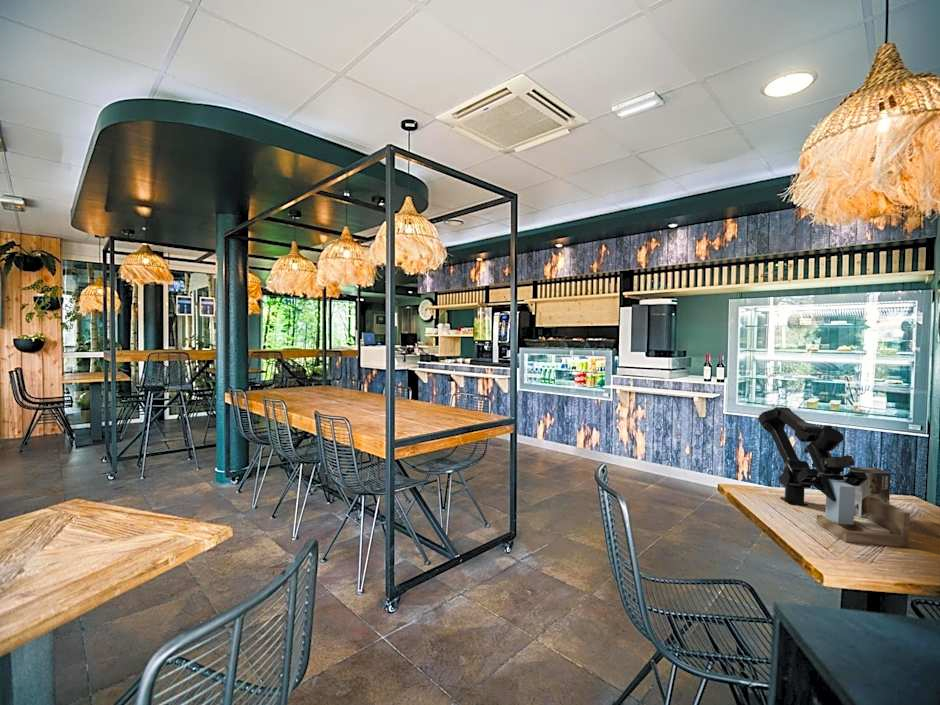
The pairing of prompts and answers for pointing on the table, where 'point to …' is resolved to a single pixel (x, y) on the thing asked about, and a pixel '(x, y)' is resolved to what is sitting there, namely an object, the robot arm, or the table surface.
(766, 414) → the robot arm
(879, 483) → the coffee box
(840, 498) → the blue-gray rectangular box
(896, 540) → the book rack
